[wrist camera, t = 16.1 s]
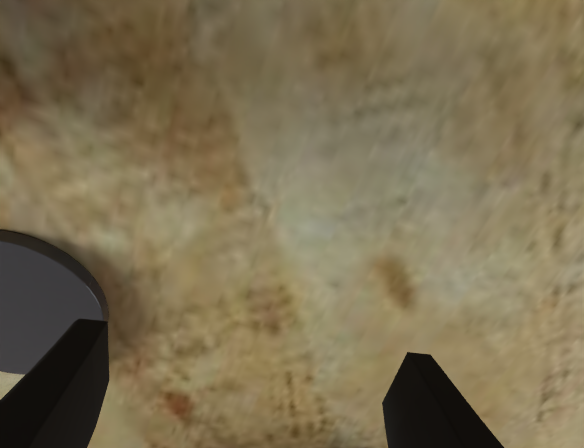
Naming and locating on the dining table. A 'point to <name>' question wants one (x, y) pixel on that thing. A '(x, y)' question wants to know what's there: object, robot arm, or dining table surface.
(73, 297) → the slate coaster
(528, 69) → the dining table surface
